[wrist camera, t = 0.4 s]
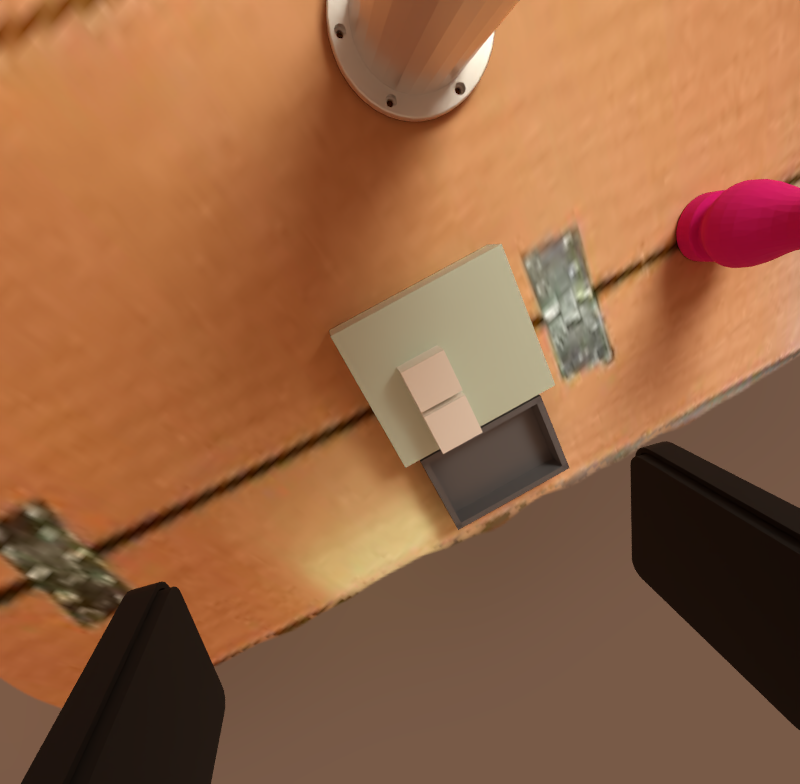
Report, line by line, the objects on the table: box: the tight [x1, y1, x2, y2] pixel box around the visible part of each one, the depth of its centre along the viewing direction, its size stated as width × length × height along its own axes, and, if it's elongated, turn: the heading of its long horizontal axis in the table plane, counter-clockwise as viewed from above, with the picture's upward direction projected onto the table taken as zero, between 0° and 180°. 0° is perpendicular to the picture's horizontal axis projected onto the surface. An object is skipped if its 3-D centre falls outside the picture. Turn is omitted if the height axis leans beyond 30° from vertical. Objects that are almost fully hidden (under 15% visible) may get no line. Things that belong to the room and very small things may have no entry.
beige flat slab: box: [329, 244, 555, 468], centre depth 40 cm, size 14×16×3 cm
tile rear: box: [419, 392, 482, 454], centre depth 39 cm, size 4×4×2 cm
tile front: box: [396, 345, 463, 413], centre depth 37 cm, size 4×4×2 cm
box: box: [420, 394, 569, 530], centre depth 44 cm, size 9×13×2 cm
